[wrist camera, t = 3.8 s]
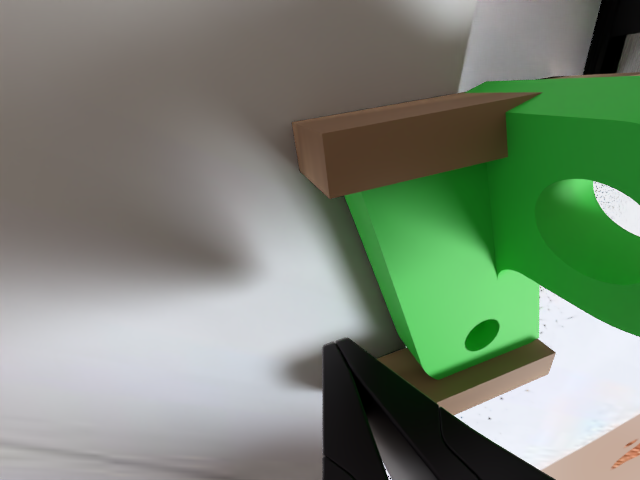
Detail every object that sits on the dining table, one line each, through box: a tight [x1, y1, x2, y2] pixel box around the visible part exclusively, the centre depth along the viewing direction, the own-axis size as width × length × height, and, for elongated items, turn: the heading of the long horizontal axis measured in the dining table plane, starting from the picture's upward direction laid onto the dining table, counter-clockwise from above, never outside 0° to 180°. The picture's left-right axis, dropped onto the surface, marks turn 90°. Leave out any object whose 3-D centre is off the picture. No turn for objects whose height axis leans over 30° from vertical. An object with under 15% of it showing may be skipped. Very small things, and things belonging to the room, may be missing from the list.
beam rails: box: [292, 72, 640, 415], centre depth 12 cm, size 13×10×3 cm
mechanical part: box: [344, 76, 640, 380], centre depth 10 cm, size 12×6×8 cm, turn 23°
